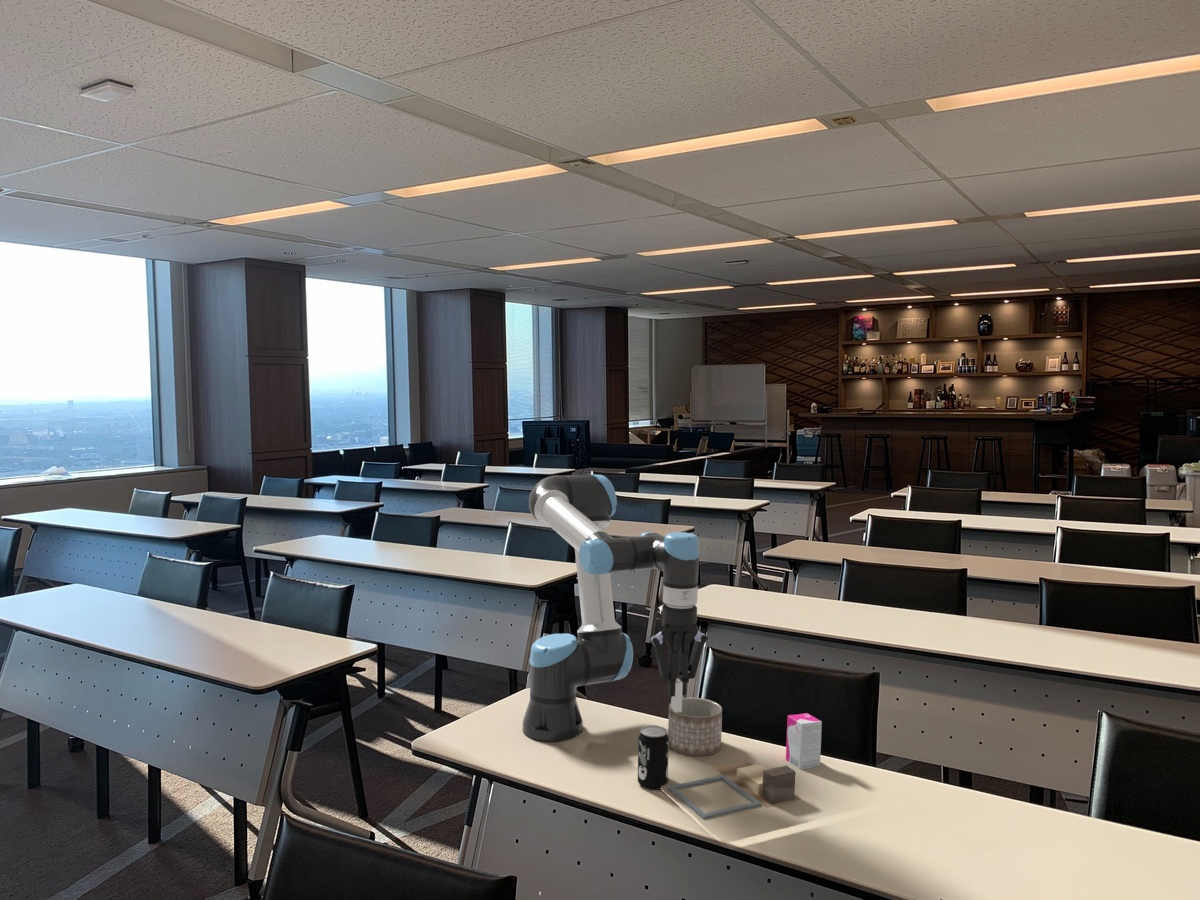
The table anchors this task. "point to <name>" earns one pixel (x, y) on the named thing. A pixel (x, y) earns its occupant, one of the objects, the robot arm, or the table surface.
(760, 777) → the beige wooden block
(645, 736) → the beverage can
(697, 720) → the planter
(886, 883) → the table surface
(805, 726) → the supplement box
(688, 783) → the picture frame
